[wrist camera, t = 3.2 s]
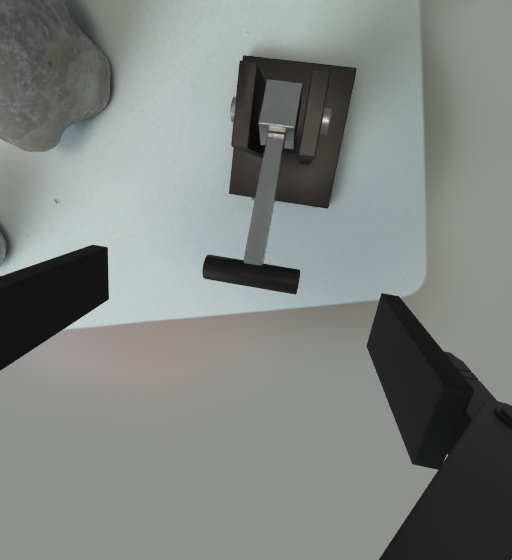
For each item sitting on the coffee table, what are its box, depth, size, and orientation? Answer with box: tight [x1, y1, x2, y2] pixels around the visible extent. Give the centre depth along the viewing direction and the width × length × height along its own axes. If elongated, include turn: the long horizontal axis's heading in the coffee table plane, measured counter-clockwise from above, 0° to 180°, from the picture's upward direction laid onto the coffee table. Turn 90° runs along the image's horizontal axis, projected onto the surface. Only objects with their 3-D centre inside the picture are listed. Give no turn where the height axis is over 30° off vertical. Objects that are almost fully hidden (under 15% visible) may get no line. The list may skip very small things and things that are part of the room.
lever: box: [203, 79, 303, 294], centre depth 19 cm, size 12×6×2 cm, turn 172°
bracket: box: [229, 56, 356, 208], centre depth 24 cm, size 12×10×14 cm
